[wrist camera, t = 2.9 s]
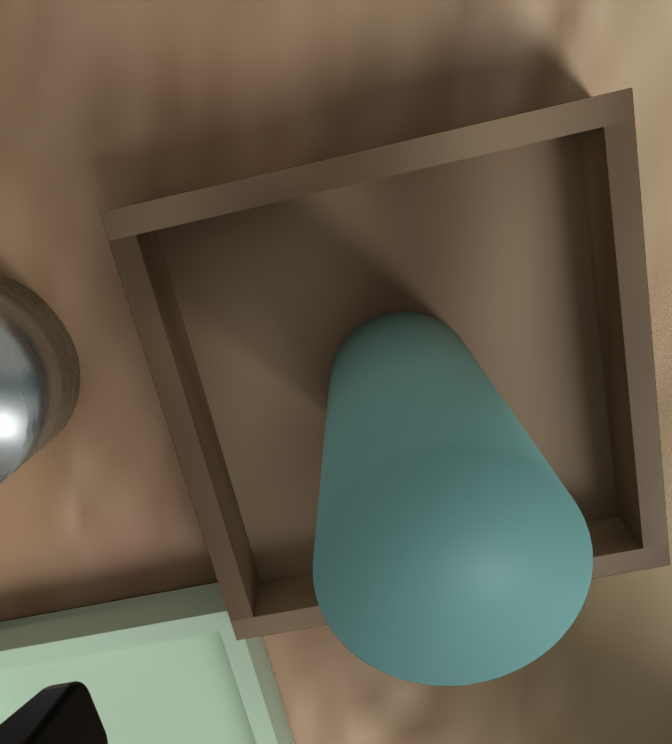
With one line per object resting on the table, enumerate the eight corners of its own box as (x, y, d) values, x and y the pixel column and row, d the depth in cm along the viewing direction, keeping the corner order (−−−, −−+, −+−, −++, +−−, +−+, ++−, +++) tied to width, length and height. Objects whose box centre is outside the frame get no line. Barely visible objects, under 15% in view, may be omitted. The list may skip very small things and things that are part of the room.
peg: (461, 296, 15) (577, 418, 8) (484, 433, 16) (606, 662, 9) (315, 328, 15) (283, 475, 8) (346, 460, 16) (345, 704, 9)
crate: (594, 99, 14) (632, 87, 12) (634, 522, 17) (670, 565, 16) (130, 208, 15) (99, 212, 13) (248, 592, 18) (236, 640, 16)
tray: (243, 577, 18) (235, 609, 17) (314, 809, 21) (312, 853, 19) (-48, 630, 19) (-78, 665, 18) (55, 849, 21) (35, 893, 20)
